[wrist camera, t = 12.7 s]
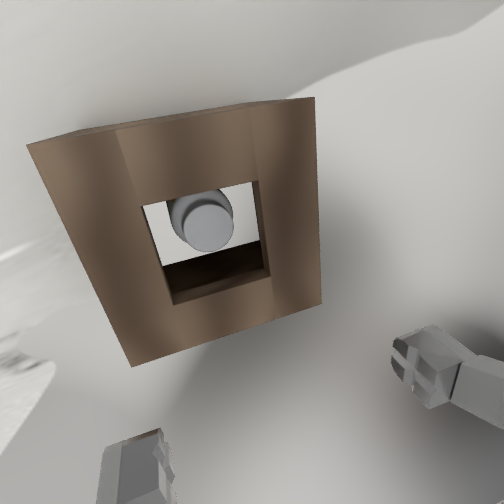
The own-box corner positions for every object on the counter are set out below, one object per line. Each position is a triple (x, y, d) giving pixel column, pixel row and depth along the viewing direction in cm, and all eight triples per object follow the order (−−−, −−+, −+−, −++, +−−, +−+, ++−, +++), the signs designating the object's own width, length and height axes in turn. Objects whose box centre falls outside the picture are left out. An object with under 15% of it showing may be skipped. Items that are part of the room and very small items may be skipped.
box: (250, 102, 29) (314, 96, 18) (268, 245, 37) (321, 303, 26) (78, 130, 26) (25, 145, 15) (136, 281, 33) (131, 367, 22)
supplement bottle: (208, 226, 33) (229, 266, 25) (159, 213, 31) (164, 253, 23) (224, 180, 32) (251, 206, 23) (173, 163, 29) (183, 186, 21)
